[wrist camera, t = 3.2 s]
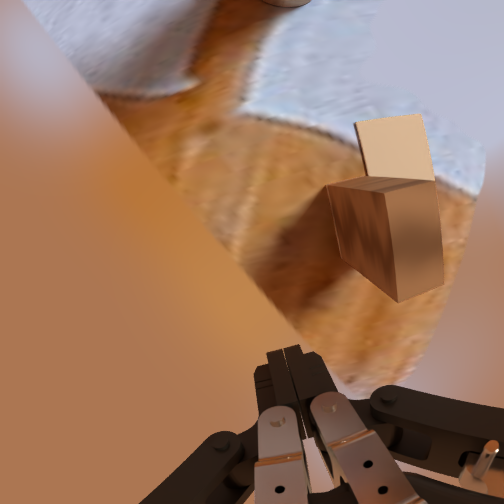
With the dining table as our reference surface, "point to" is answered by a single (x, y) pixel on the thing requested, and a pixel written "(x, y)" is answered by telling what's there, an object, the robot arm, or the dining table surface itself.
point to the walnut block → (390, 232)
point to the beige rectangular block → (396, 147)
